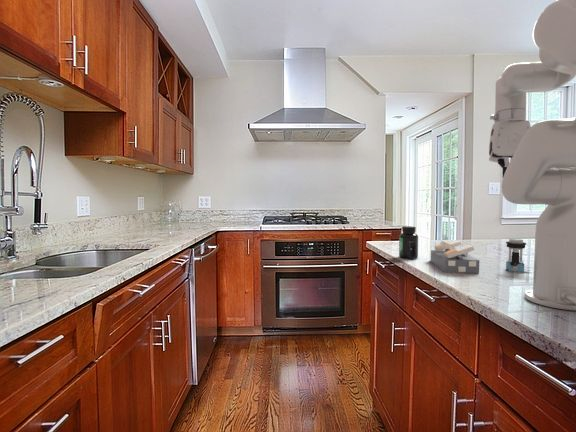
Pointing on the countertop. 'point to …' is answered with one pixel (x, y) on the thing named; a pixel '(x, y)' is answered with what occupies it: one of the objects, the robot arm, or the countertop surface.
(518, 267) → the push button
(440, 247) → the rocker
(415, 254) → the supplement bottle
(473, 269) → the console
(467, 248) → the rocker
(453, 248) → the rocker
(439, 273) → the countertop surface
